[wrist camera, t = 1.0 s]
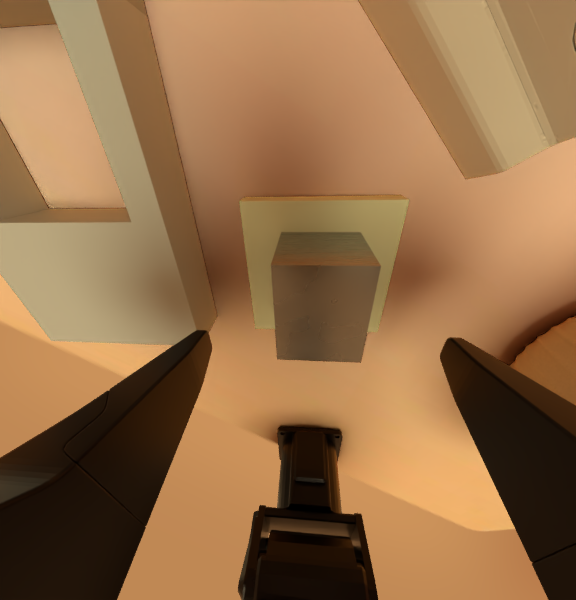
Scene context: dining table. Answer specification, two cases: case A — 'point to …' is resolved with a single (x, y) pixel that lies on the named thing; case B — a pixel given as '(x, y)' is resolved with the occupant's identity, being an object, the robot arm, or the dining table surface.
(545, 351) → the canister
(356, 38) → the dining table surface
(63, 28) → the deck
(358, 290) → the block
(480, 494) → the dining table surface
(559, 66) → the beige half-round holder
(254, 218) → the pad
